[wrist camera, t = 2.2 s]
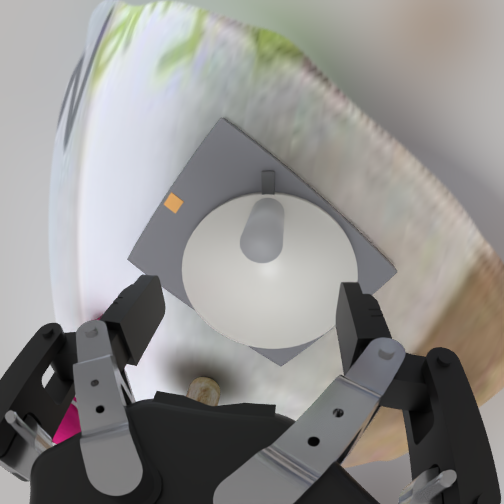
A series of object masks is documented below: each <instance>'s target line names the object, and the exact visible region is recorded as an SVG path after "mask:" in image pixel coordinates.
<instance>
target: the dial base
mask: <svg viewBox="0 0 504 504" xmlns="http://www.w3.org/2000/svg"><path fill="white" fill-rule="evenodd" d="M262 171H275V192H280V193H286V194H290V195H295V196H298V197H300V198H303V199H306V200H308V201H310V202H312V203H314V204H316V205H318V206H319V207H320V208H322V209H323V210H325V211H326V212H327V213H328V214H330V215H331V216H332V217H333V218H334V219H335V220H336V221H337V223H338V224H339V225H340V226H341V228H342V229H343V230H344V232H345V234H346V236H347V237H348V239H349V241H350V243H351V246H352V248H353V251H354V254H355V257H356V262H357V269H358V280H357V282H358V283H359V284H360V287H361V290H362V293H363V294H371V295H373V294H374V293H375V292H376V291H377V290H378V289H379V288H380V287H382V286H383V285H384V284H385V283H386V282H387V281H388V280H389V279H390V278H391V277H392V276H394V275H395V274H396V273H397V270H396V269H395V267H394V266H393V265H392V264H391V263H390V262H389V261H388V260H387V259H386V258H385V257H384V255H383V254H382V253H381V252H380V251H379V250H378V249H377V248H376V247H375V246H374V245H373V244H372V243H371V242H370V241H369V240H367V239H366V238H365V237H364V236H363V235H362V234H361V233H360V232H359V231H358V230H357V229H356V228H355V227H354V226H353V225H352V224H351V223H350V222H349V221H348V220H347V219H346V218H344V217H343V216H342V215H341V214H340V213H339V212H338V211H337V210H336V209H335V208H334V207H333V206H331V205H330V204H329V203H328V202H327V201H326V200H325V199H324V198H323V197H321V196H320V195H319V194H318V193H317V192H316V191H315V190H313V189H312V188H311V187H310V186H309V185H308V184H307V183H305V182H304V181H303V180H302V179H301V178H300V177H298V176H297V175H296V174H295V173H294V172H292V171H291V170H290V169H289V168H288V167H286V166H285V165H284V164H283V163H282V162H280V161H279V160H278V159H277V158H275V157H274V156H273V155H272V154H271V153H269V152H268V151H267V150H266V149H264V148H263V147H262V146H260V145H259V144H258V143H257V142H255V141H254V140H253V139H251V138H250V137H249V136H248V135H246V134H245V133H244V132H242V131H241V130H240V129H238V128H237V127H236V126H234V125H233V124H232V123H230V122H229V121H228V120H226V119H225V118H220V120H219V121H218V122H217V123H216V125H215V126H214V127H213V129H212V130H211V131H210V133H209V134H208V135H207V137H206V138H205V139H204V141H203V142H202V143H201V145H200V146H199V148H198V149H197V150H196V152H195V153H194V154H193V156H192V157H191V159H190V160H189V162H188V163H187V164H186V166H185V167H184V169H183V170H182V172H181V173H180V175H179V176H178V178H177V179H176V181H175V182H174V184H173V185H172V187H171V188H170V190H169V191H168V193H167V194H166V196H165V197H164V199H163V200H162V202H161V203H160V205H159V207H158V208H157V210H156V211H155V213H154V215H153V216H152V218H151V219H150V221H149V223H148V224H147V226H146V228H145V229H144V231H143V233H142V234H141V236H140V238H139V240H138V241H137V243H136V245H135V246H134V248H133V250H132V252H131V253H130V255H129V257H128V259H127V260H128V261H130V262H131V263H132V264H133V265H135V266H136V267H137V268H139V269H140V270H141V271H142V272H144V273H145V274H146V275H156V276H158V277H159V279H160V283H161V286H162V287H163V288H165V289H166V290H167V291H169V292H170V293H171V294H173V295H174V296H176V297H177V298H178V299H180V300H181V301H182V302H184V303H185V304H187V305H188V306H189V307H191V308H192V309H194V308H193V306H192V304H191V302H190V301H189V299H188V296H187V294H186V291H185V288H184V284H183V279H182V260H183V255H184V250H185V248H186V245H187V242H188V240H189V238H190V237H191V235H192V233H193V231H194V230H195V229H196V228H197V226H198V225H199V224H200V222H201V221H202V220H203V219H204V218H205V217H206V216H207V215H208V214H209V213H210V212H211V211H212V210H214V209H215V208H217V207H218V206H220V205H221V204H223V203H225V202H227V201H229V200H231V199H233V198H236V197H239V196H242V195H245V194H250V193H256V192H262V183H261V172H262ZM194 310H195V309H194ZM335 326H336V325H335ZM330 330H331V329H330ZM326 333H327V332H326ZM326 333H325V334H326ZM323 335H324V334H323ZM323 335H322V336H323ZM322 336H320V337H322ZM320 337H318V338H317V339H314V340H312V341H310V342H308V343H305V344H302V345H298V346H294V347H289V348H280V349H266V348H257V347H252V346H249V347H250V348H252V349H253V350H255V351H257V352H258V353H260V354H261V355H263V356H265V357H266V358H268V359H269V360H271V361H273V362H274V363H276V364H278V365H279V366H282V365H284V364H285V363H287V362H288V361H289V360H291V359H292V358H294V357H295V356H296V355H298V354H299V353H301V352H302V351H303V350H305V349H306V348H307V347H309V346H310V345H311V344H313V343H314V342H315V341H317V340H318V339H319V338H320Z"/></svg>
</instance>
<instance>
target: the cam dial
mask: <svg viewBox="0 0 504 504" xmlns="http://www.w3.org/2000/svg"><path fill="white" fill-rule="evenodd" d="M261 183H262V192H256V193H250V194H245V195H242V196H239V197H236V198H233V199H231V200H229V201H227V202H225V203H223V204H221V205H220V206H218V207H217V208H215V209H214V210H212V211H211V212H210V213H209V214H208V215H207V216H206V217H205V218H204V219H203V220H202V221H201V222H200V224H199V225H198V226H197V228H196V229H195V230H194V231H193V233H192V235H191V237H190V238H189V240H188V242H187V245H186V248H185V250H184V255H183V260H182V279H183V284H184V288H185V291H186V294H187V296H188V299H189V301H190V302H191V304H192V306H193V308H194V309H195V311H196V312H197V313H198V315H199V316H200V317H201V318H202V319H203V320H204V321H205V322H206V323H207V324H208V325H209V326H210V327H211V328H213V329H214V330H215V331H217V332H218V333H220V334H221V335H223V336H225V337H227V338H229V339H231V340H233V341H235V342H238V343H241V344H244V345H247V346H252V347H257V348H266V349H280V348H289V347H294V346H298V345H302V344H305V343H308V342H310V341H312V340H314V339H317V338H318V337H320V336H322V335H323V334H325V333H326V332H328V331H329V330H330V329H332V328H333V327H334V326H335V325H336V309H337V302H338V296H339V289H340V284H341V282H357V280H358V269H357V262H356V257H355V254H354V251H353V248H352V246H351V243H350V241H349V239H348V237H347V236H346V234H345V232H344V230H343V229H342V228H341V226H340V225H339V224H338V223H337V221H336V220H335V219H334V218H333V217H332V216H331V215H330V214H328V213H327V212H326V211H325V210H323V209H322V208H320V207H319V206H318V205H316V204H314V203H312V202H310V201H308V200H306V199H303V198H300V197H298V196H295V195H290V194H286V193H280V192H275V171H262V172H261Z"/></svg>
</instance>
